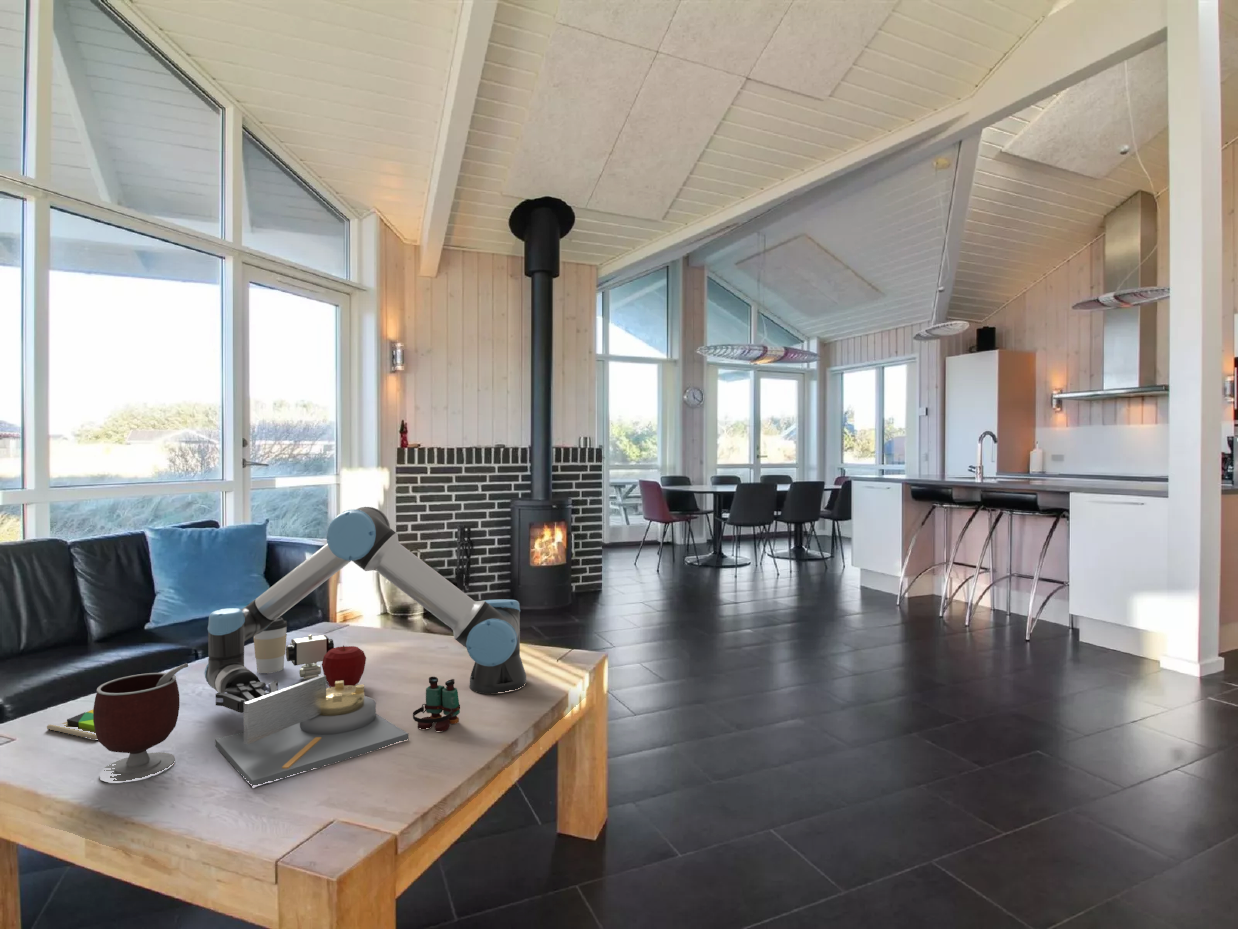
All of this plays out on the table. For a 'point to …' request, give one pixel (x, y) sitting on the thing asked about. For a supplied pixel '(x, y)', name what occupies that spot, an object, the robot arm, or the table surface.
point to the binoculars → (439, 706)
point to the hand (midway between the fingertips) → (270, 712)
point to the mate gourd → (137, 720)
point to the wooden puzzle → (78, 725)
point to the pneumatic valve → (308, 654)
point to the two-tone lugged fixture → (298, 706)
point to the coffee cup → (271, 647)
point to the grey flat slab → (310, 744)
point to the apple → (344, 665)
